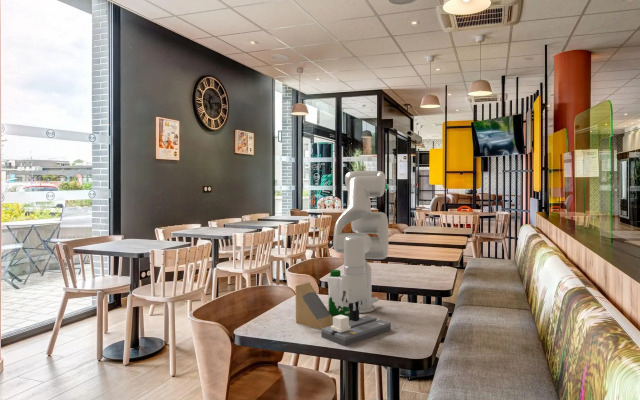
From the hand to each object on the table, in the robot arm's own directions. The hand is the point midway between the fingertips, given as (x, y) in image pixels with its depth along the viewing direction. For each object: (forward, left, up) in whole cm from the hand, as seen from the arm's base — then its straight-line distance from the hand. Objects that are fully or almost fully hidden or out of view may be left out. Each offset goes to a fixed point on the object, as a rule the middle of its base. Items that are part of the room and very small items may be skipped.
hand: (354, 320), depth 166 cm
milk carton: (-7, -15, -5) cm, 17 cm away
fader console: (-1, 0, -5) cm, 5 cm away
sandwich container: (+2, -18, -6) cm, 19 cm away
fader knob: (+7, 0, -3) cm, 8 cm away
